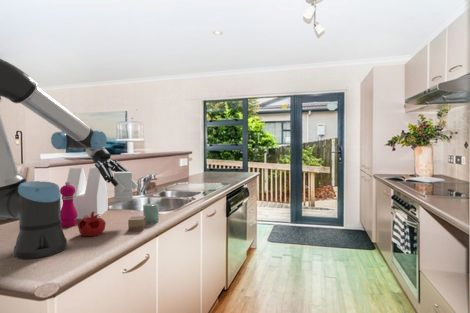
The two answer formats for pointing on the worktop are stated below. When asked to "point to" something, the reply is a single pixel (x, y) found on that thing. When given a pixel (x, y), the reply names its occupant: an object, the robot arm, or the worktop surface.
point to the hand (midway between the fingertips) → (129, 189)
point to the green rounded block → (151, 212)
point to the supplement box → (126, 181)
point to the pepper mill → (68, 206)
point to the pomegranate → (91, 225)
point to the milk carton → (88, 192)
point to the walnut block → (137, 223)
